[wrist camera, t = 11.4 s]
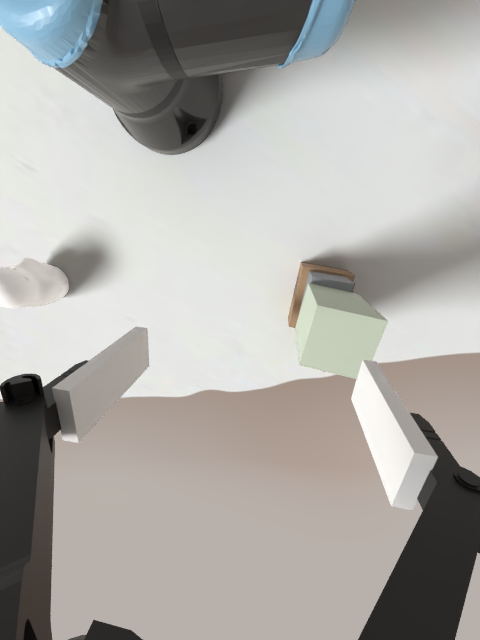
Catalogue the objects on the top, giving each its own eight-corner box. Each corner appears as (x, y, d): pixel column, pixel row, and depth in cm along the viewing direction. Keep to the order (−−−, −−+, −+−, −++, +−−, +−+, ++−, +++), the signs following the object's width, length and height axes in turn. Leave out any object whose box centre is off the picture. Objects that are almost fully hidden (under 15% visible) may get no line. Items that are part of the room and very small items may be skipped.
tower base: (300, 262, 41) (303, 266, 37) (346, 270, 41) (354, 275, 36) (288, 316, 44) (288, 326, 40) (330, 324, 44) (336, 336, 39)
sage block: (308, 282, 32) (317, 305, 23) (357, 293, 32) (388, 321, 23) (295, 327, 34) (299, 364, 25) (341, 338, 34) (363, 380, 25)
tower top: (308, 270, 37) (312, 277, 32) (345, 276, 36) (354, 284, 32) (296, 324, 40) (298, 337, 35) (330, 330, 39) (337, 344, 34)
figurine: (80, 278, 48) (18, 294, 37) (62, 307, 50) (-2, 330, 39) (48, 250, 47) (-26, 258, 36) (31, 281, 50) (-43, 297, 38)
